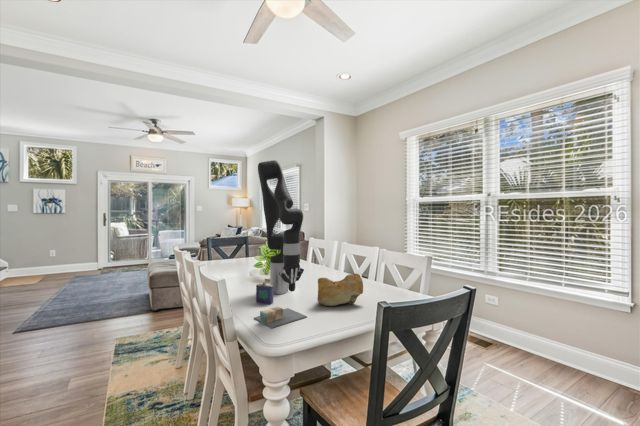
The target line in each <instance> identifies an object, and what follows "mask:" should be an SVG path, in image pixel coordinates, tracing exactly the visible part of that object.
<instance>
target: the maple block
mask: <svg viewBox="0 0 640 426" xmlns="http://www.w3.org/2000/svg"><path fill="white" fill-rule="evenodd" d="M283 309H284V308H283V307H280V306H274V307H270V308H267V309H263V310H260V312H259V316H260V321H262V322H264V323H268V322H271V321H275V320H278V319H281V318H283Z"/></svg>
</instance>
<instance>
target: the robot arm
mask: <svg viewBox="0 0 640 426" xmlns="http://www.w3.org/2000/svg"><path fill="white" fill-rule="evenodd" d="M257 173H258V177H259V183H260V187H261V193H262V205H263V212H264V219H265V227H266V228H265V229H266V243H267V247H268V250H271V251H279V253H277V254H275V255H272V256H270V258H269V267H270V271H269V272H270V273H269V275H270V277H269V281H270V283H269V285H273V295H281V294H286V293H287V292H289V291H290V292H291V293H292V292H295V290H296V282H297V281H299V280H300V279H301V276H302V275H303V273H304V271H305V270H304V268H302V267H301V266H300V263H301V245H300V232H301V229H302V225H303V224H302V223H303V221H304V214H303V211H302V210H301V208H292V207H294V201H293V199H292V197H291V194H290V192H289V189H288V188H287V183H286V179H285V177H284V173H283V170H282V167H281V164H280V163H279V161H278V160H276V159H275V160H268V161H260V162H258V164H257ZM275 179H276V180H277V183H276V186H275V188H274V192H273V191H272V189H271V188H270V186H269V184H268V181H270V180H275ZM278 221H280V222H281V223H282V224H283V225H292V226H291V227H290V228H288V229H286V230H284V231H283V233H274V229H275V226H276V225H277V223H278Z"/></svg>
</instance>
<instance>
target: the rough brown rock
mask: <svg viewBox="0 0 640 426" xmlns="http://www.w3.org/2000/svg"><path fill="white" fill-rule="evenodd" d="M363 293H364V283H363V279H362V277H361V275H360V274H359V273H351V274H347V275H346V276H345V277H344V278H343V279H340V280H337V281H334V280H331V279H330V278H327V277H318V278H317V302H318V304H321V305H323V306H325V307H326V306H328V307H333V306H334V307H335V306H339V305H344V304H350V305H353V304H355V303H356V302H357V298H358V297H359V296H360V295H362V294H363Z"/></svg>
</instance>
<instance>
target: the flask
mask: <svg viewBox="0 0 640 426" xmlns="http://www.w3.org/2000/svg"><path fill="white" fill-rule="evenodd" d="M255 289H256V290H255V296H256V297H255V303H256V304H264V305H265V304H267V305H271V304H274V294H273V285H270V284H267V282H266V281H262V283H258V284H256V285H255Z"/></svg>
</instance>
